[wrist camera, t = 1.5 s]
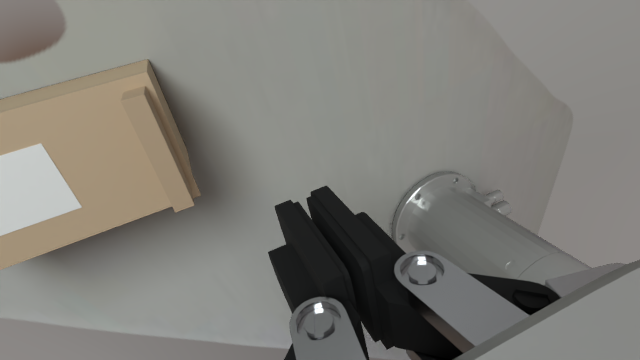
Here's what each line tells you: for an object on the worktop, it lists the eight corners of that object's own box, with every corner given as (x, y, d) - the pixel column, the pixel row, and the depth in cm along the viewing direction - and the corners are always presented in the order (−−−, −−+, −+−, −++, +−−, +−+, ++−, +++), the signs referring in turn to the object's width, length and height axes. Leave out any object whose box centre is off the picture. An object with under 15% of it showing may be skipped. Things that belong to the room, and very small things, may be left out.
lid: (147, 70, 22) (145, 78, 19) (200, 191, 26) (204, 211, 23) (-199, 166, 18) (-258, 193, 15) (-70, 290, 22) (-99, 327, 19)
